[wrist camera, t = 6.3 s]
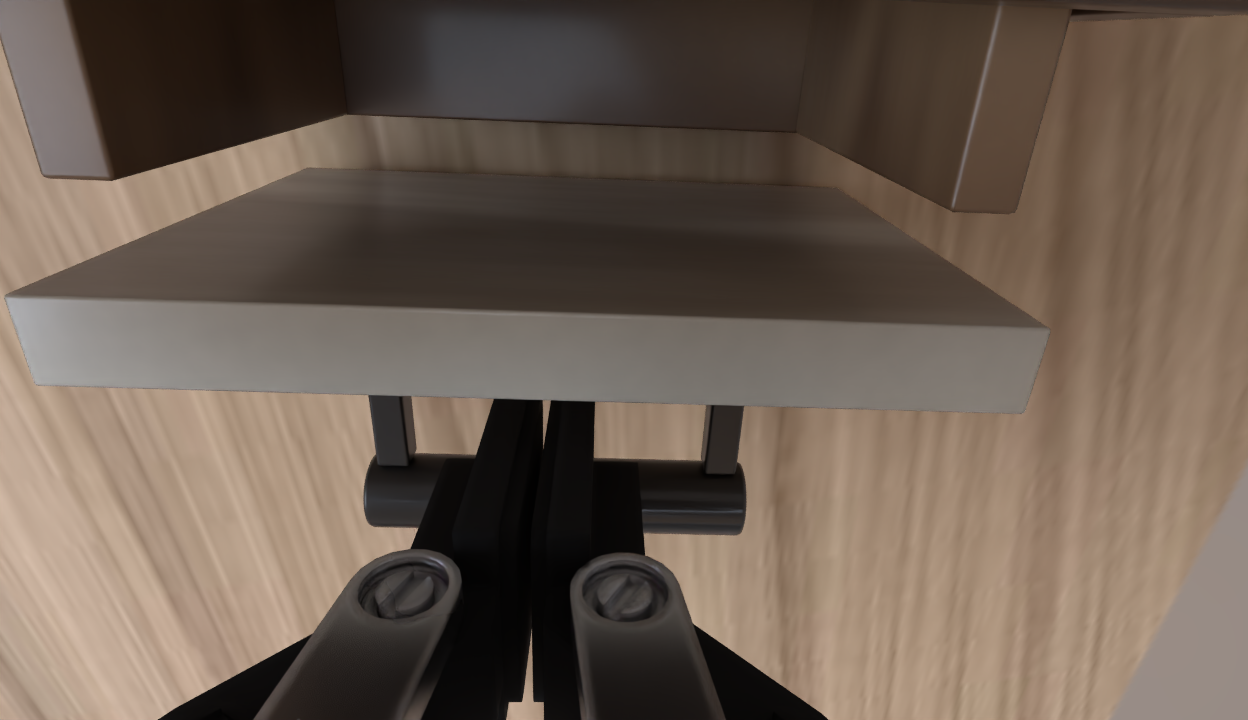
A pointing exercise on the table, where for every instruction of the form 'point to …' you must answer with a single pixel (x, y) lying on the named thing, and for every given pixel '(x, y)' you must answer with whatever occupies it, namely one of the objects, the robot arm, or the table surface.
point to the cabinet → (1123, 8)
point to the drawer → (541, 214)
